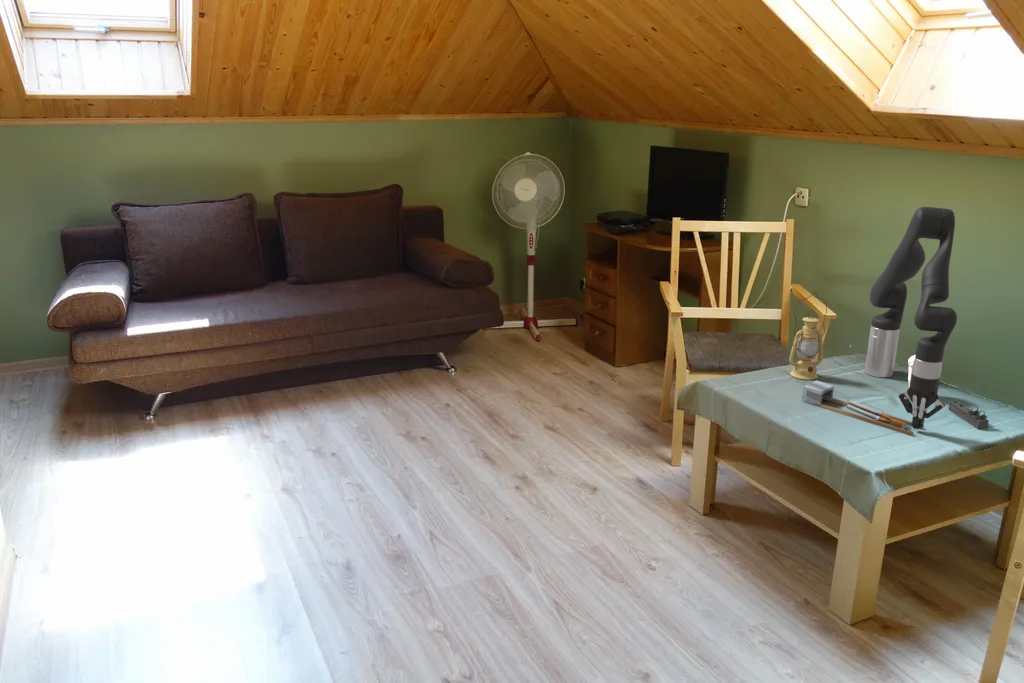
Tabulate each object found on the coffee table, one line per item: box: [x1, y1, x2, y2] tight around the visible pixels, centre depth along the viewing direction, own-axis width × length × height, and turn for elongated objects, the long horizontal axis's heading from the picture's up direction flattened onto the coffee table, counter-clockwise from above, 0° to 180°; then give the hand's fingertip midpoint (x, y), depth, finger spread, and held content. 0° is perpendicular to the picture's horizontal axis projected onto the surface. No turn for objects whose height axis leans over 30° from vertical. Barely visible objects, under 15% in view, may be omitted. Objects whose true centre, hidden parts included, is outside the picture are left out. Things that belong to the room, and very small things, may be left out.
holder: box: [801, 379, 925, 437], centre depth 253 cm, size 8×35×5 cm, turn 41°
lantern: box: [788, 292, 828, 381], centre depth 281 cm, size 12×10×30 cm
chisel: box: [846, 400, 907, 430], centre depth 251 cm, size 19×3×3 cm
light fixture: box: [948, 400, 989, 430], centre depth 250 cm, size 3×15×6 cm, turn 4°
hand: (916, 428), depth 241 cm, fingers closed
